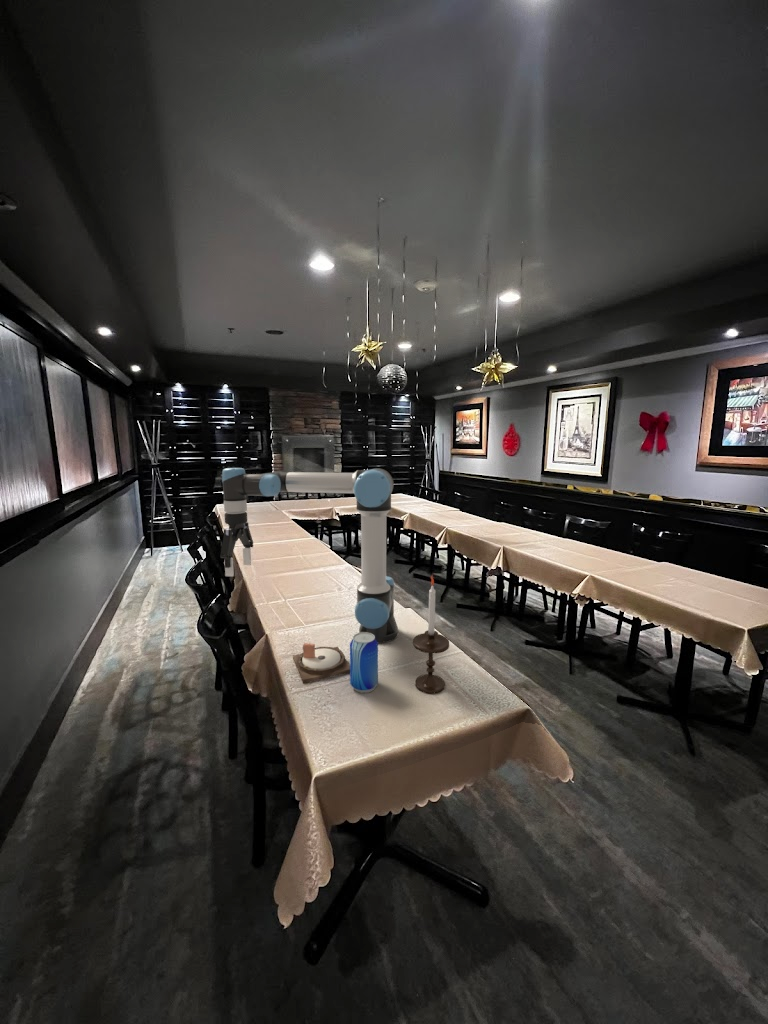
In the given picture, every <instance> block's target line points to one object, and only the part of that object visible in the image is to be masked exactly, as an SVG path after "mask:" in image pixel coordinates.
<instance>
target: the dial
mask: <svg viewBox="0 0 768 1024" xmlns="http://www.w3.org/2000/svg"><path fill="white" fill-rule="evenodd" d="M315 645H316V644H315V643H306V642H304V643H303V645H302V653H303V658H302V664H303V665H304V666H307V667H308V668H310V669H315V668H317V669H325V668H330V667H333V666H335V665H336V664H338V663H340V661H341V656H340V654H339V653H338V652H337V651H335V650H332V649H326V648H323V649H315V648H316V646H315Z"/></svg>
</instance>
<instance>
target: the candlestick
mask: <svg viewBox="0 0 768 1024" xmlns="http://www.w3.org/2000/svg"><path fill="white" fill-rule="evenodd" d="M433 576H434V575H433V574H431V576H430V579H431V581H430V584H431V587H430V589H429V590H428V619H427V620H428V625H427V626H428V629H427V630H425V631H424V633H420V634H417V635H415V636H414V637H413V639H412V646H413V647H414V648H415V649H416V650H417V651H419V652H423V653H426V654H428V658H427V659H426V660H425V663H426V666H427V667H426V669H425V671H426V672H427V674H421V675H419V676H418V677H416V678H415V683H414V685H415V688H416V689H417V690H418V691H419V692H421V693H424V694H428V695H435V694H440V693H441V692H443V691H444V689H445V688H446V682H445V680H444V679H443V678H442V677H441V676H438V675H436V674H433V673H434V672H435V668H434V667H435V665H436V661H435V660H434V654H440V653H444V652H446V651H448V650H449V648H450V640H449V638H447V637H446V636H444V635H442V634H439V632H438V631H436V630H435V625H436V623H435V621H436V589H435V588H434V587H435V586H434V584H435V580H434V578H433Z"/></svg>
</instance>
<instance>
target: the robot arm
mask: <svg viewBox="0 0 768 1024" xmlns="http://www.w3.org/2000/svg"><path fill="white" fill-rule="evenodd" d="M221 473H222V480H221V483H222V489H223V490H222V491H223V492H222V493H223V494H222V495H223V504H222V505H223V509H224V512H225V513H224V523H225V524H226V525H228V528H224V529H223V537H222V545H221V548H220V554H219V557H220V558H221V559H224V571H225V572H224V576H225V577H235V572H234V571H235V570H234V567H235V566H234V558H233V553H234V550H235V546H236V543H237V541H240V542H241V544H242V546H243V547H242V558H243V559H242V560H243V561H242V562H243V563H242V564H243V566H252V553H251V548H254V541H253V537H252V533H251V531H250V526H249V522H248V513H247V511H248V504H247V502H248V501H247V496H254V497H257V496H258V497H276V496H278V495H279V494H280V493H315V494H318V493H320V494H321V493H322V494H325V493H326V494H354V497H355V499H356V511H357V512H358V513H359V514H360V523H361V524H360V526H361V527H360V531H361V532H360V534H361V535H360V537H361V538H360V539H361V540H360V543H361V544H360V545H361V546H360V547H361V549H360V552H361V554H360V555H361V556H360V557H361V562H360V563H361V564H360V565H361V570H360V571H361V575H360V576H361V582H360V583H359V584H358V585H357V587H356V594H357V595H356V601H357V602H356V605H355V607H354V617H355V620H356V621H357V623H359V624H360V626H359V630H358V631H359V632H358V633H361V632H368V633H371V634H373V635H374V636H375V639H376V641H377V643H378V644H382V643H387V642H388V643H389V642H391V641H394V640H396V638H397V637H398V636H399V628H398V624H397V622H396V621H397V620H396V618H395V616H394V615H395V613H394V612H395V611H394V607H395V605H394V603H395V599H394V598H395V597H394V596H395V595H394V593H395V580H394V578H393V577H391V576H387V515H388V514H389V513H390V512H391V510H392V492H393V490H394V479H393V477H392V475H391V474H390V472H388V471H387V470H385V469H383V468H377V467H375V468H370V469H357V470H356V471H354V472H322V471H321V472H319V471H318V472H313V471H312V472H309V471H308V472H307V471H306V472H305V471H304V472H303V471H302V472H301V471H300V472H299V471H287V472H286V471H281V470H280V471H279V470H278V471H277V470H276V471H273V472H265V473H256V474H255V473H252V474H251V473H246V470H245V468H244V467H243V468H242V467H227V468H223V469H222V472H221Z"/></svg>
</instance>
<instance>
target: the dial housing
mask: <svg viewBox="0 0 768 1024" xmlns="http://www.w3.org/2000/svg"><path fill="white" fill-rule="evenodd" d="M323 648H326V649H332V650H335V651H337V652H338V653H339V654H340V656H341V661H340V663H338V664H336V665H335V666H333V667H330V668H325V669H317V668H315V669H310V668H308V667H307V666H304V665H303V664H302V658H303V652H301V653H298V654H294V655H292V660H293V663H294V665H295V667H296V670H297V672H298V674H299V678H300V679H301V682H302V684H307V683H311V682H315V681H320V680H321V681H322V680H324V679H329V678H334V677H338V676H342V675H346V674H350V662H348V661H347V659H346V656H345V654H344V652H343V651H342V650H341V649H340V648H339V646H334V647H333V646H317V647H315V649H323Z"/></svg>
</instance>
